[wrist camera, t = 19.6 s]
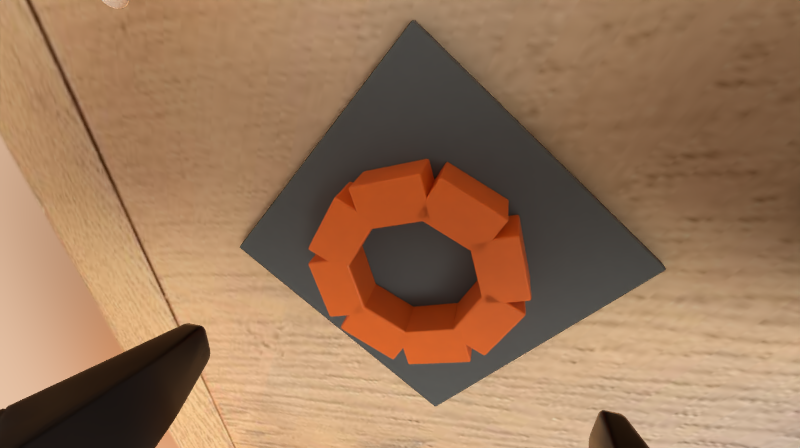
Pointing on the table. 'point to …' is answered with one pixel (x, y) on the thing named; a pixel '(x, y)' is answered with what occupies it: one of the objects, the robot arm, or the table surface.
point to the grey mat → (432, 250)
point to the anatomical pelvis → (116, 3)
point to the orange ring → (449, 214)
